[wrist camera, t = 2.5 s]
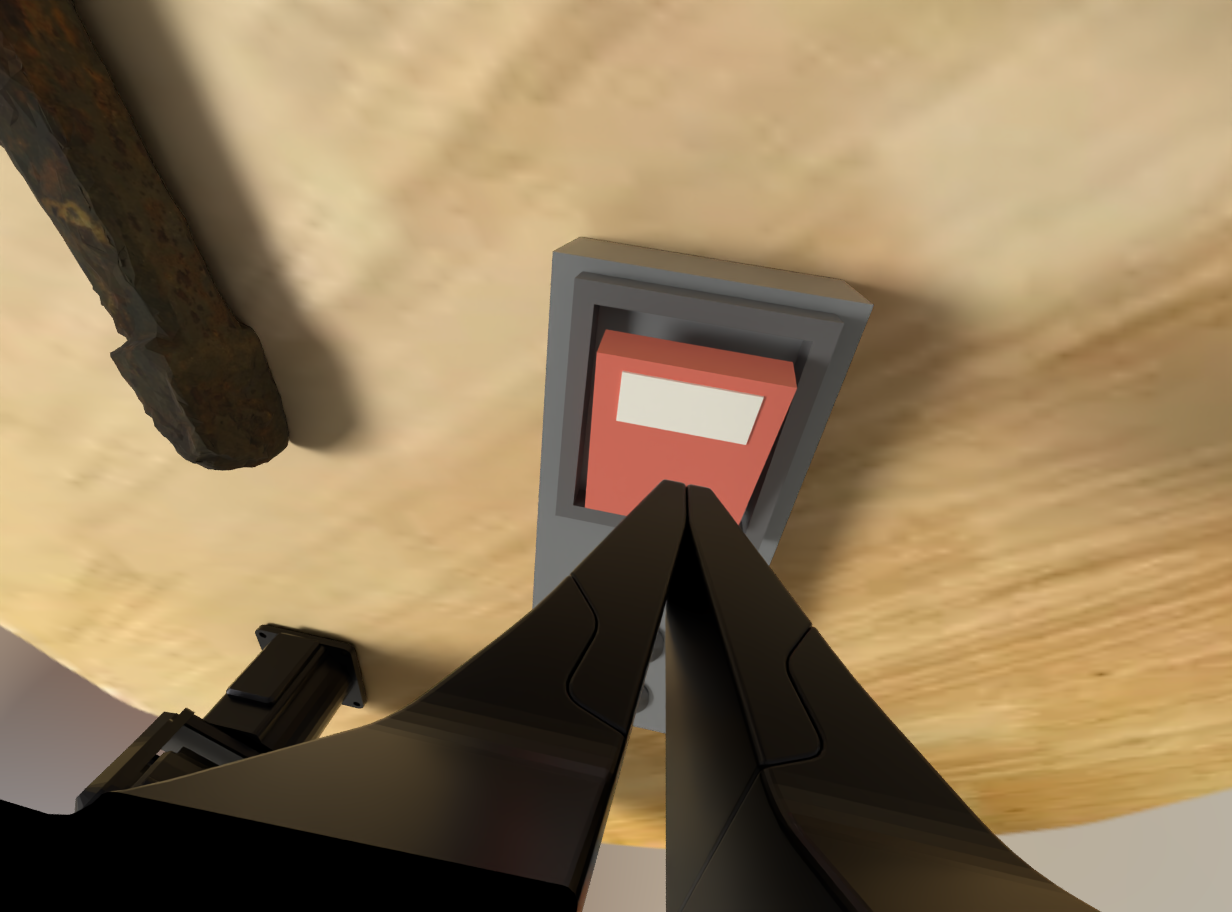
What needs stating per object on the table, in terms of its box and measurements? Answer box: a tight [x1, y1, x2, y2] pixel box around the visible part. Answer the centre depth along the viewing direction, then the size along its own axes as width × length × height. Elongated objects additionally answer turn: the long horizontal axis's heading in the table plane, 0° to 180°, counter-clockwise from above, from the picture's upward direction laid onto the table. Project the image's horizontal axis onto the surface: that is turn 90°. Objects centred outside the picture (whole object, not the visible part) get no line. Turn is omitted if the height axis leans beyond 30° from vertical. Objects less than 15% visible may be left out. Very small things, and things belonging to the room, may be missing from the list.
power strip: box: [532, 237, 874, 733], centre depth 20 cm, size 22×9×4 cm, turn 172°
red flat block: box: [585, 329, 797, 525], centre depth 15 cm, size 6×5×1 cm
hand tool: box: [0, 0, 289, 470], centre depth 17 cm, size 19×4×5 cm, turn 6°
